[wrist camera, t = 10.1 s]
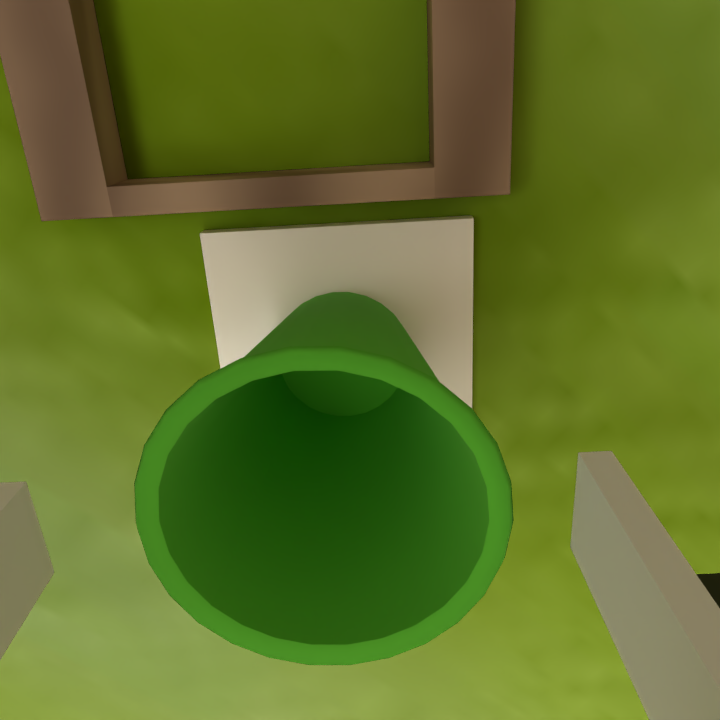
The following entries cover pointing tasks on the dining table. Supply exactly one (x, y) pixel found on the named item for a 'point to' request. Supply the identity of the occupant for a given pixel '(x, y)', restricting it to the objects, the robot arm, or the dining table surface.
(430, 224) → the coaster
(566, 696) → the dining table surface
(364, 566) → the cup
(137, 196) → the board
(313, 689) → the dining table surface
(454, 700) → the dining table surface
